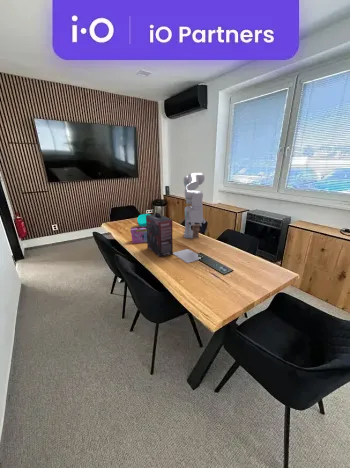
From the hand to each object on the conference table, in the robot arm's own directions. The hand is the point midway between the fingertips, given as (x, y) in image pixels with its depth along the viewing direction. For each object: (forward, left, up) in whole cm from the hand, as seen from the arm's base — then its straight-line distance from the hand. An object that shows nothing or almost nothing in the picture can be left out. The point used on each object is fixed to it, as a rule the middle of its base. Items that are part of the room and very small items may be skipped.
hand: (195, 230), depth 163 cm
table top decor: (-80, 0, -20) cm, 82 cm away
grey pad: (+1, -9, -20) cm, 22 cm away
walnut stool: (0, 0, -4) cm, 4 cm away
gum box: (-48, -23, -20) cm, 57 cm away
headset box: (-20, -23, -20) cm, 36 cm away
